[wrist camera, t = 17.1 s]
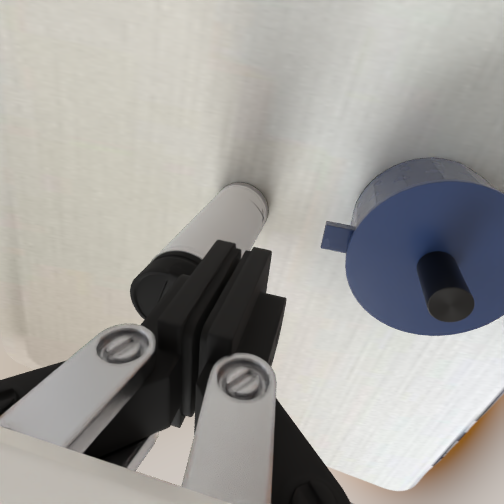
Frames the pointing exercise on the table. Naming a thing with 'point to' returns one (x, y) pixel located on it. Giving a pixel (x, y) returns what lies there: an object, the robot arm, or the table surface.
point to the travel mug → (202, 241)
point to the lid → (431, 258)
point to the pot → (390, 183)
